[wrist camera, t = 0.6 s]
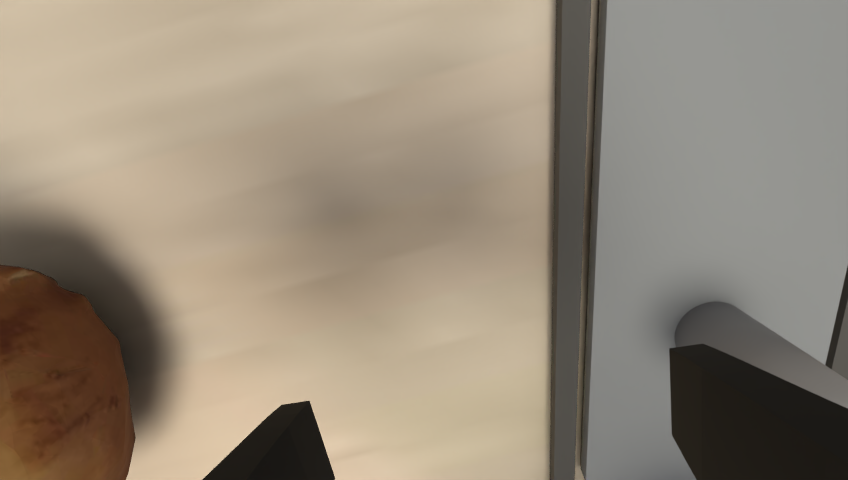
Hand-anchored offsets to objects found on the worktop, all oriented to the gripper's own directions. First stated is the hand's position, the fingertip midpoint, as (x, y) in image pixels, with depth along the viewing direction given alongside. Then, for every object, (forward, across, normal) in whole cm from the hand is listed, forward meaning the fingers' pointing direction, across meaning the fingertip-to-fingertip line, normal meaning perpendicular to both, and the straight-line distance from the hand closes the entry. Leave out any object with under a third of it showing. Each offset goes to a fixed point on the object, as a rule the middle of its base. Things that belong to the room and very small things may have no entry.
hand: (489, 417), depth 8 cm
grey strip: (+10, -10, +1) cm, 15 cm away
